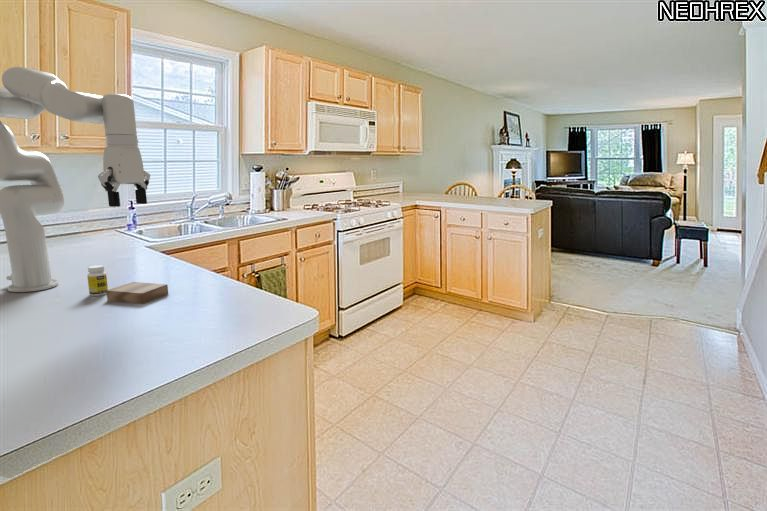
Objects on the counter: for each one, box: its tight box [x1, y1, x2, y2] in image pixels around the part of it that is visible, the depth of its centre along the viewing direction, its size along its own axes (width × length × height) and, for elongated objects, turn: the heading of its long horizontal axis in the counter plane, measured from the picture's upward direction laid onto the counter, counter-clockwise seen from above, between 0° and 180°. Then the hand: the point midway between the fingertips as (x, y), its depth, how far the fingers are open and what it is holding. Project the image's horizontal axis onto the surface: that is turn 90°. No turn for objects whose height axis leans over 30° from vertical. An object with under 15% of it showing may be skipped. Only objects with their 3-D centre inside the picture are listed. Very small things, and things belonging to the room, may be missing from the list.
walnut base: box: [106, 281, 169, 305], centre depth 133 cm, size 12×10×3 cm
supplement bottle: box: [86, 264, 109, 297], centre depth 136 cm, size 5×5×8 cm
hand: (128, 205), depth 129 cm, fingers open, 9 cm apart
